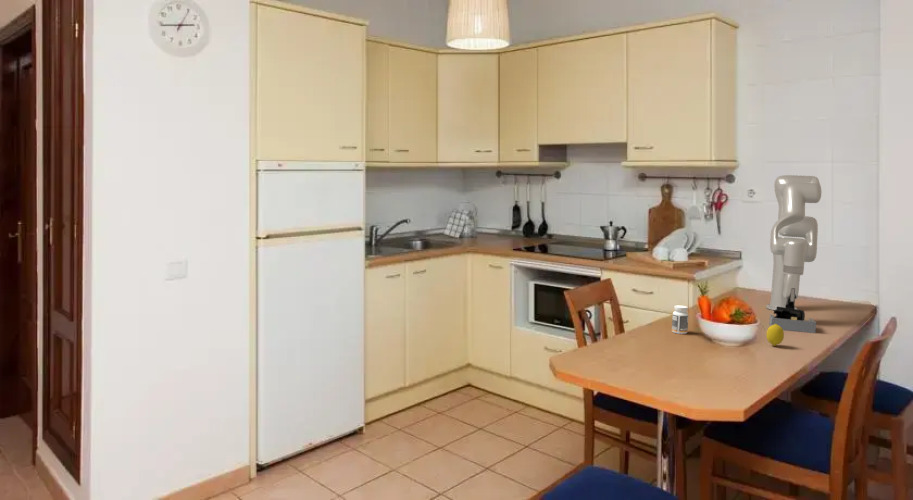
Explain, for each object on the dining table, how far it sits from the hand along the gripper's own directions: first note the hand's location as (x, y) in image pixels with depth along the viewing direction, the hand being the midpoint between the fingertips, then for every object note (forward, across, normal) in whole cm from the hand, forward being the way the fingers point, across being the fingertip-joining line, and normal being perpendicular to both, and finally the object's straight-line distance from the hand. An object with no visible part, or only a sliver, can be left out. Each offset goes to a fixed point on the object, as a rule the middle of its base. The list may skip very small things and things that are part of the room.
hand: (789, 314), depth 279 cm
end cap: (+4, +6, -1) cm, 7 cm away
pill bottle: (+4, +40, -41) cm, 57 cm away
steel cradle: (+3, +12, 0) cm, 12 cm away
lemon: (+4, +46, -9) cm, 47 cm away
